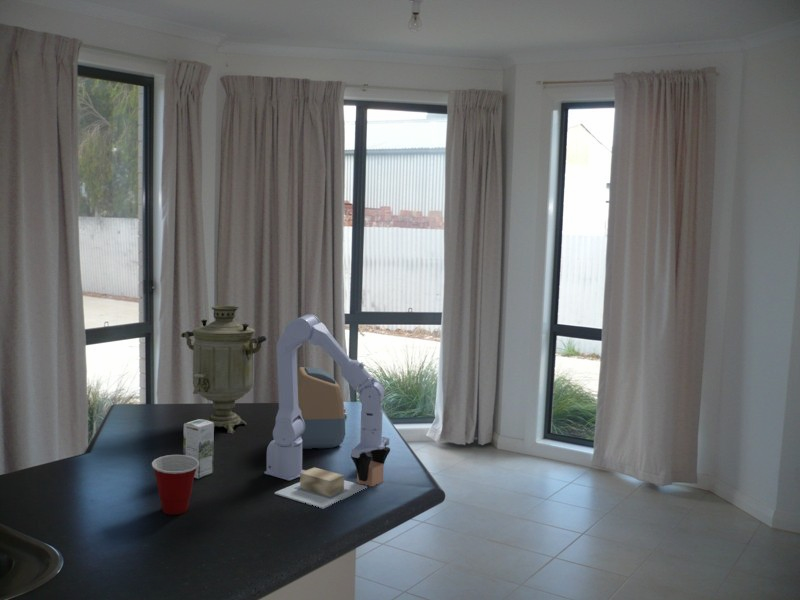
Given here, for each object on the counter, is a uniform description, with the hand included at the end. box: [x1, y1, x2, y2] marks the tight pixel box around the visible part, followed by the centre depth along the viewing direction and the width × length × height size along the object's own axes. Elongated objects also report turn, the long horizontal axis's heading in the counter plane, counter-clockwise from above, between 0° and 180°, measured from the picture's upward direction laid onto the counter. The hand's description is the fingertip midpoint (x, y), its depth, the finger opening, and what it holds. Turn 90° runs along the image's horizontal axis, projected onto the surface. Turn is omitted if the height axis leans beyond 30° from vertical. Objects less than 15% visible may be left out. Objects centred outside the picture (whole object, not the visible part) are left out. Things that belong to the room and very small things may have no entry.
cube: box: [356, 461, 385, 487], centre depth 201 cm, size 5×5×5 cm
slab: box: [299, 467, 345, 497], centre depth 193 cm, size 10×6×4 cm, turn 56°
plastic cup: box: [151, 454, 199, 516], centre depth 178 cm, size 11×11×12 cm
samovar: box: [180, 305, 267, 434], centre depth 244 cm, size 30×26×40 cm
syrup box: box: [182, 418, 215, 479], centre depth 203 cm, size 6×6×14 cm
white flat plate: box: [274, 479, 368, 510], centre depth 194 cm, size 16×18×1 cm
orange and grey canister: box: [297, 366, 346, 450], centre depth 233 cm, size 17×17×23 cm
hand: (370, 476), depth 201 cm, fingers open, 6 cm apart
